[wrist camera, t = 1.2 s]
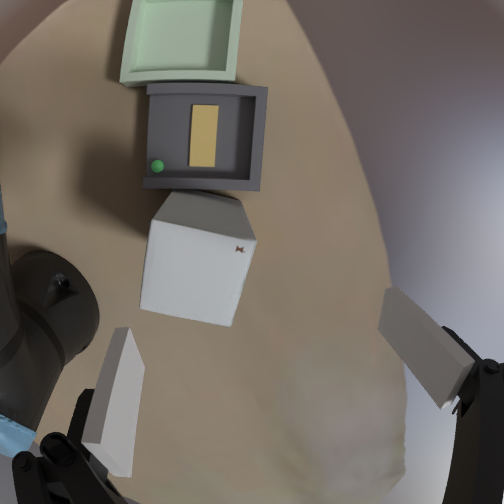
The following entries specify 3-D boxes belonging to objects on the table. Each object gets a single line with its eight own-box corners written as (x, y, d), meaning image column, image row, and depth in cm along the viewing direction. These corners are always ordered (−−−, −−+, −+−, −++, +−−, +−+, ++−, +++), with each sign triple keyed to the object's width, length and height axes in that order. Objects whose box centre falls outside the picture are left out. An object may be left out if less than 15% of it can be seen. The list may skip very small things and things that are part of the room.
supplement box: (175, 183, 29) (150, 214, 18) (243, 200, 31) (261, 240, 19) (161, 248, 32) (136, 310, 20) (225, 262, 33) (232, 330, 22)
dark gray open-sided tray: (150, 182, 29) (142, 188, 25) (154, 89, 25) (147, 83, 22) (254, 185, 30) (259, 191, 27) (261, 92, 27) (268, 87, 23)
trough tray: (127, 87, 25) (119, 82, 22) (141, 1, 20) (135, -10, 18) (232, 86, 26) (234, 80, 23) (241, -1, 22) (244, -13, 19)
